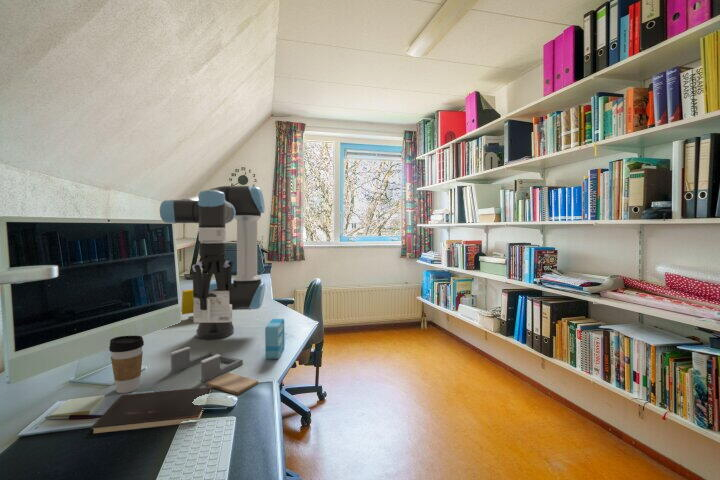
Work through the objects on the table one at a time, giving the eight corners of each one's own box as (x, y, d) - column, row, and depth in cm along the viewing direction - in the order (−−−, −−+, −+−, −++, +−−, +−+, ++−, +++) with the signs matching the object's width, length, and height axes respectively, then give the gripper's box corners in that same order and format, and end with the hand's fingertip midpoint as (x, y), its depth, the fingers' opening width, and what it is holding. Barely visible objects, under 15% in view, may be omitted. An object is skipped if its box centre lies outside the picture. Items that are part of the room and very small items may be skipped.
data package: (278, 360, 124) (277, 327, 123) (265, 360, 123) (264, 327, 123) (284, 348, 135) (284, 317, 135) (273, 348, 135) (272, 317, 135)
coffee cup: (114, 384, 105) (112, 335, 104) (147, 379, 108) (145, 332, 107) (107, 397, 97) (105, 344, 96) (142, 392, 100) (140, 340, 100)
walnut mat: (206, 385, 105) (206, 382, 105) (227, 374, 112) (227, 372, 112) (237, 394, 99) (237, 392, 99) (258, 383, 106) (258, 380, 106)
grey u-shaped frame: (170, 372, 114) (170, 352, 113) (210, 356, 127) (210, 338, 127) (204, 382, 106) (203, 361, 106) (243, 364, 120) (242, 345, 120)
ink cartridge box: (196, 320, 108) (196, 289, 108) (232, 320, 108) (232, 289, 108) (192, 323, 105) (192, 290, 105) (229, 322, 106) (229, 290, 105)
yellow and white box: (221, 313, 188) (221, 284, 188) (226, 316, 182) (226, 286, 181) (181, 319, 176) (180, 288, 175) (185, 323, 169) (184, 290, 169)
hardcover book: (198, 424, 85) (198, 415, 85) (91, 436, 80) (90, 427, 80) (212, 393, 101) (212, 385, 100) (122, 402, 96) (122, 393, 96)
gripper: (194, 243, 97) (195, 327, 97) (243, 241, 112) (244, 313, 113) (177, 243, 100) (179, 323, 101) (227, 241, 116) (228, 311, 116)
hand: (213, 318), depth 107 cm, fingers closed on ink cartridge box, 4 cm apart
